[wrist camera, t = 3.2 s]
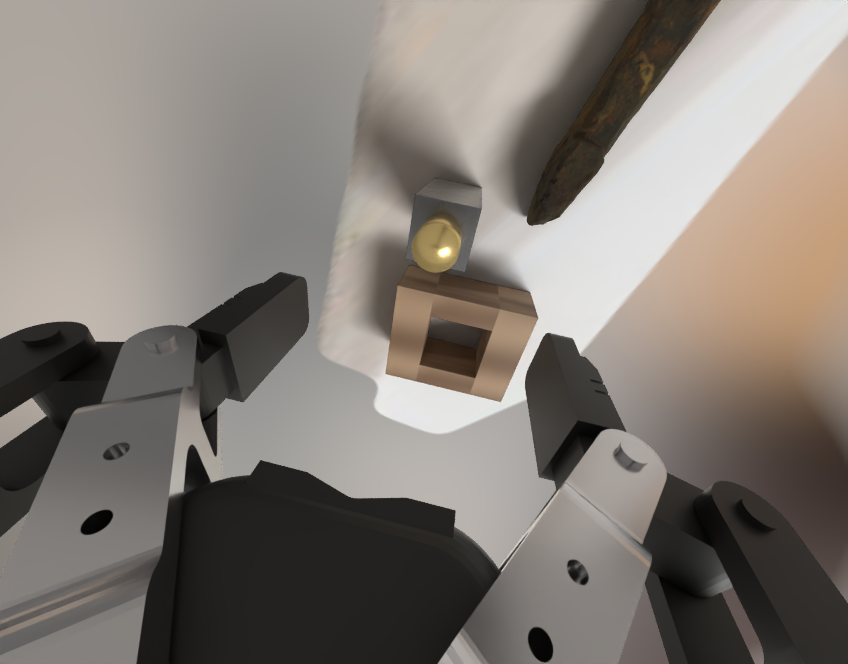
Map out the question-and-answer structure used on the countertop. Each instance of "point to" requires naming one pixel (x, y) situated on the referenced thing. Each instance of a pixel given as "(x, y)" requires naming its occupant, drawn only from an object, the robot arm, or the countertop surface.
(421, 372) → the housing
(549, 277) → the countertop surface
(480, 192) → the bit
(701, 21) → the dark brown rod
